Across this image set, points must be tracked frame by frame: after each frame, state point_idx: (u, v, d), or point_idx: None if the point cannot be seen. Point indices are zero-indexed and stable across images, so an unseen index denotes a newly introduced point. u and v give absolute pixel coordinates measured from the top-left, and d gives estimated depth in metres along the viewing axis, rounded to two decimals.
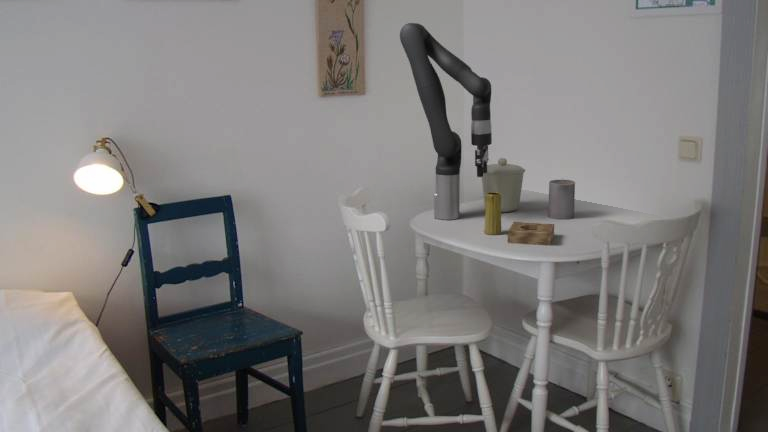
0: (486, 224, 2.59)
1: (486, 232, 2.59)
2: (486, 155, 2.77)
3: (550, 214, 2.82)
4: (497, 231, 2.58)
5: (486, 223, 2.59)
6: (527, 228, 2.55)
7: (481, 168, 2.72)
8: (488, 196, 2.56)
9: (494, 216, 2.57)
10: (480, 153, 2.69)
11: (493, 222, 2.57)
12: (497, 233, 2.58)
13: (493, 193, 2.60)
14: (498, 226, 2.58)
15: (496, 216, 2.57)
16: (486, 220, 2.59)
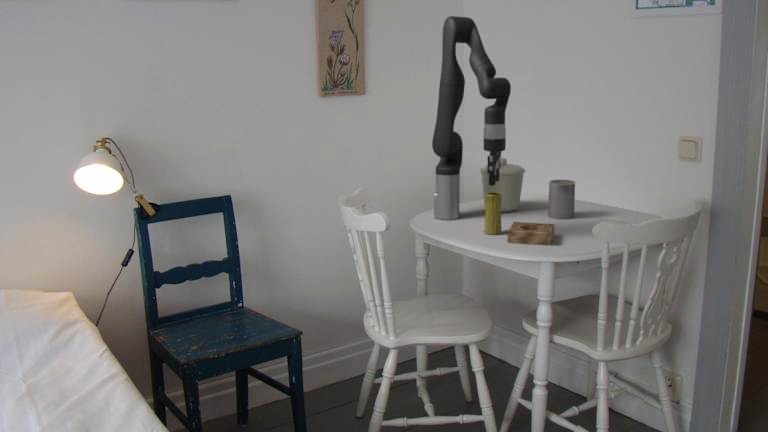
0: (486, 224, 2.59)
1: (486, 232, 2.59)
2: (499, 162, 2.57)
3: (550, 214, 2.82)
4: (497, 231, 2.58)
5: (486, 223, 2.59)
6: (527, 228, 2.55)
7: (493, 176, 2.51)
8: (488, 196, 2.56)
9: (494, 216, 2.57)
10: (493, 160, 2.48)
11: (493, 222, 2.57)
12: (497, 233, 2.58)
13: (493, 193, 2.60)
14: (498, 226, 2.58)
15: (496, 216, 2.57)
16: (486, 220, 2.59)
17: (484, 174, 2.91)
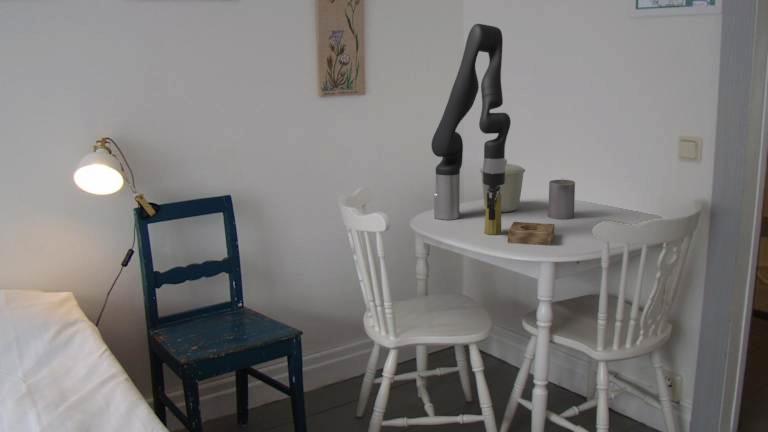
0: (486, 224, 2.59)
1: (486, 232, 2.59)
2: None
3: (550, 214, 2.82)
4: (497, 231, 2.58)
5: (486, 223, 2.59)
6: (527, 228, 2.55)
7: (493, 211, 2.55)
8: None
9: None
10: (492, 196, 2.51)
11: (493, 222, 2.57)
12: (497, 233, 2.58)
13: None
14: (498, 226, 2.58)
15: (496, 216, 2.57)
16: (486, 220, 2.59)
17: None
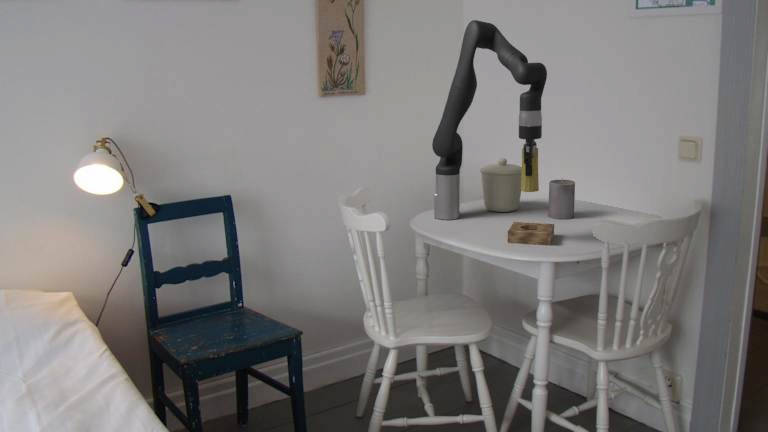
0: (523, 181, 2.47)
1: (523, 189, 2.47)
2: None
3: (550, 214, 2.82)
4: (534, 188, 2.46)
5: (523, 180, 2.47)
6: (527, 228, 2.55)
7: (530, 166, 2.43)
8: None
9: None
10: (530, 150, 2.39)
11: (530, 178, 2.45)
12: (534, 190, 2.46)
13: None
14: (535, 182, 2.46)
15: (533, 172, 2.45)
16: (523, 177, 2.47)
17: (484, 174, 2.91)
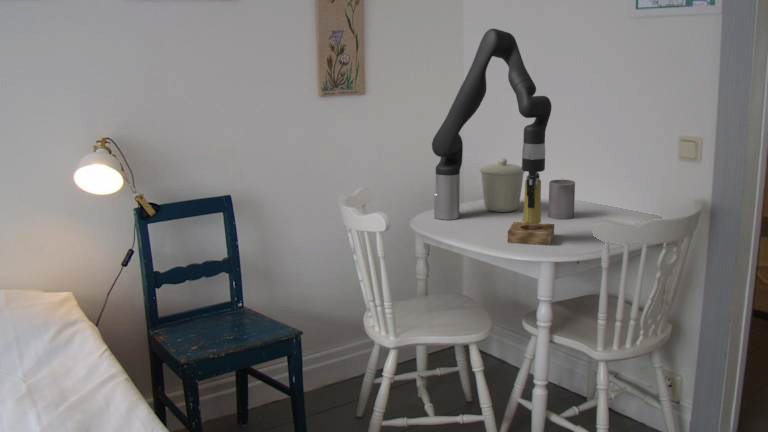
0: (525, 212, 2.49)
1: (525, 221, 2.49)
2: None
3: (550, 214, 2.82)
4: (537, 219, 2.48)
5: (525, 211, 2.49)
6: (527, 228, 2.55)
7: (533, 198, 2.45)
8: None
9: None
10: (533, 183, 2.41)
11: (533, 210, 2.47)
12: (537, 222, 2.48)
13: None
14: (538, 214, 2.48)
15: (536, 204, 2.47)
16: (525, 208, 2.49)
17: (484, 174, 2.91)
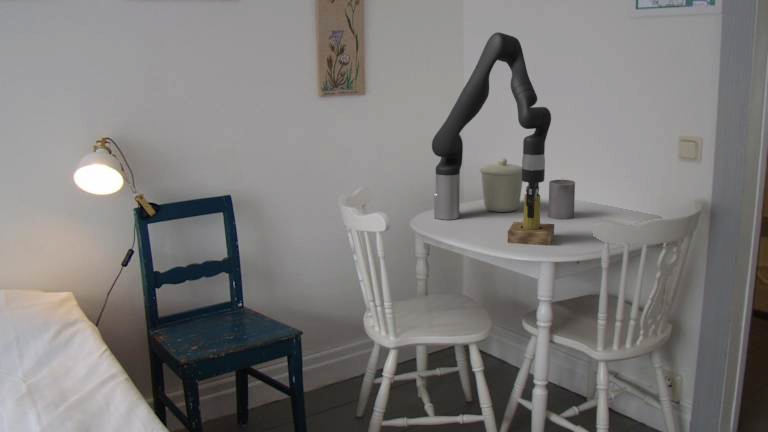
0: (524, 227, 2.50)
1: None
2: (537, 193, 2.50)
3: (550, 214, 2.82)
4: None
5: (524, 226, 2.50)
6: None
7: (532, 208, 2.45)
8: None
9: (533, 219, 2.48)
10: (532, 193, 2.41)
11: (532, 225, 2.48)
12: None
13: None
14: (537, 229, 2.49)
15: (535, 218, 2.48)
16: (524, 222, 2.50)
17: (484, 174, 2.91)
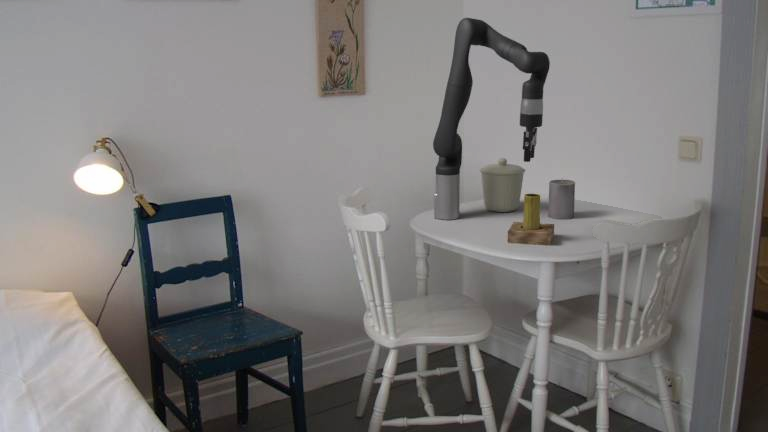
0: (524, 227, 2.50)
1: None
2: (535, 138, 2.52)
3: (550, 214, 2.82)
4: None
5: (524, 226, 2.50)
6: None
7: (529, 152, 2.47)
8: (527, 198, 2.47)
9: (532, 219, 2.48)
10: (529, 135, 2.44)
11: (532, 225, 2.48)
12: None
13: (531, 194, 2.51)
14: (537, 229, 2.49)
15: (535, 218, 2.48)
16: (524, 222, 2.50)
17: (484, 174, 2.91)
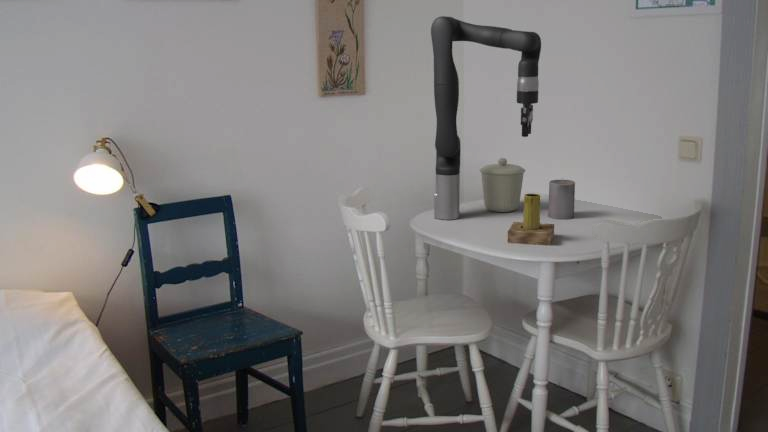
0: (524, 227, 2.50)
1: None
2: (531, 114, 2.64)
3: (550, 214, 2.82)
4: None
5: (524, 226, 2.50)
6: None
7: (526, 127, 2.59)
8: (527, 198, 2.47)
9: (532, 219, 2.48)
10: (526, 111, 2.56)
11: (532, 225, 2.48)
12: None
13: (531, 194, 2.51)
14: (537, 229, 2.49)
15: (535, 218, 2.48)
16: (524, 222, 2.50)
17: (484, 174, 2.91)
